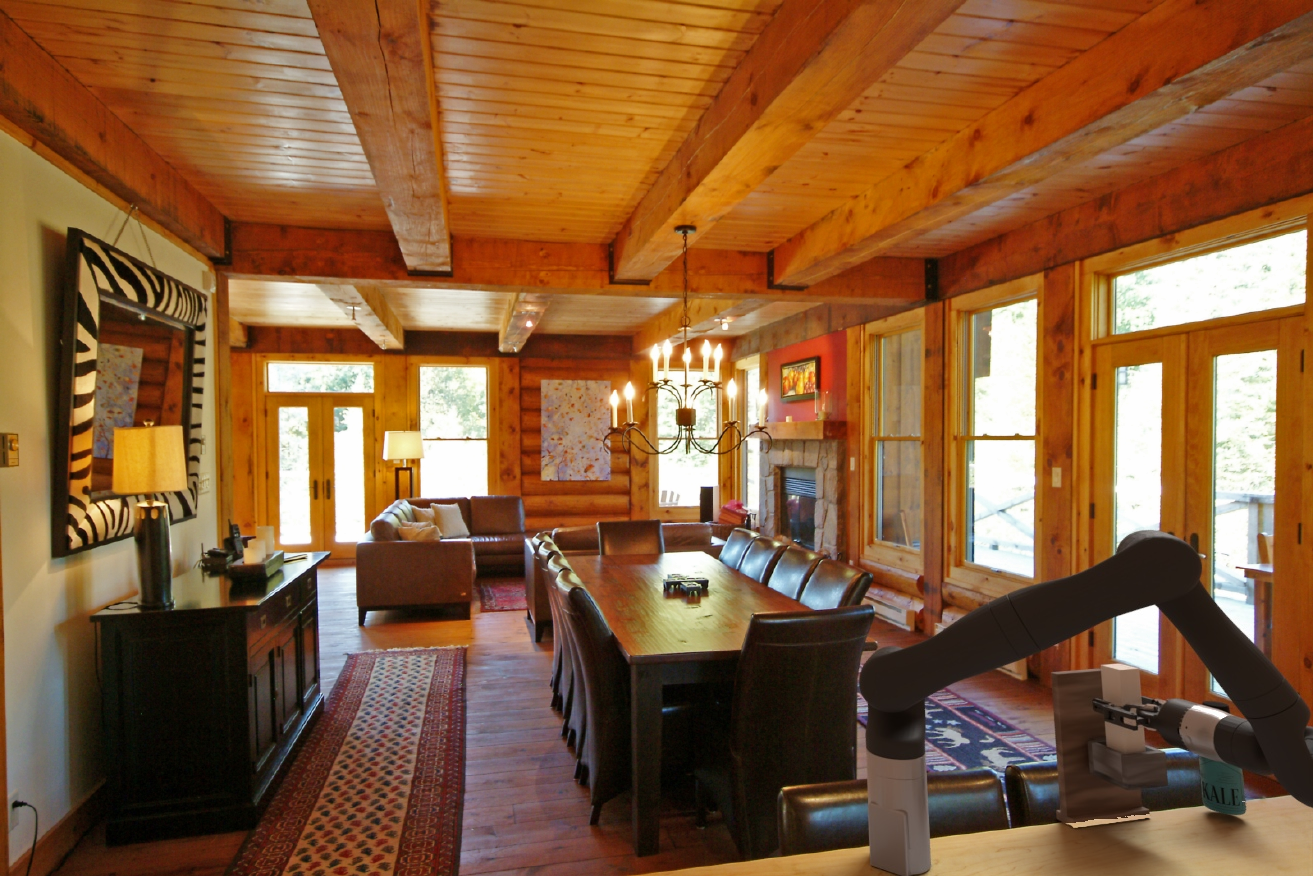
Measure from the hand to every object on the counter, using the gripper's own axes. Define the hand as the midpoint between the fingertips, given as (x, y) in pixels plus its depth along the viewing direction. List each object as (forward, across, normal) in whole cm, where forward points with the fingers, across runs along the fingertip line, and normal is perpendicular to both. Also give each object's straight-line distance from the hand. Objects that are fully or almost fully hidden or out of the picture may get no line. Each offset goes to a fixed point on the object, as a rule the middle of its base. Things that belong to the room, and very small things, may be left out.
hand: (1114, 702), depth 125 cm
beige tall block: (-2, 0, +12) cm, 12 cm away
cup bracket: (0, 0, +21) cm, 22 cm away
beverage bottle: (0, -21, +22) cm, 30 cm away
